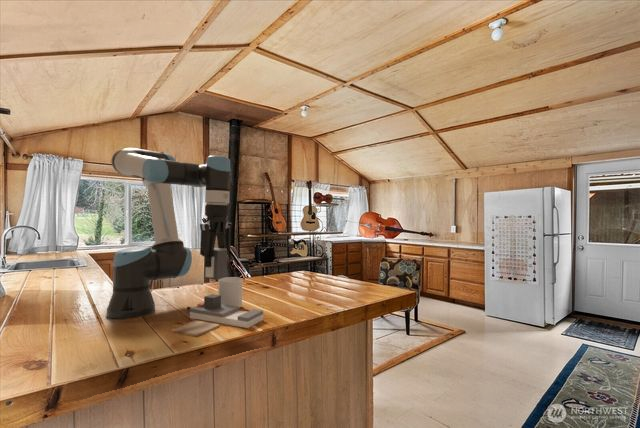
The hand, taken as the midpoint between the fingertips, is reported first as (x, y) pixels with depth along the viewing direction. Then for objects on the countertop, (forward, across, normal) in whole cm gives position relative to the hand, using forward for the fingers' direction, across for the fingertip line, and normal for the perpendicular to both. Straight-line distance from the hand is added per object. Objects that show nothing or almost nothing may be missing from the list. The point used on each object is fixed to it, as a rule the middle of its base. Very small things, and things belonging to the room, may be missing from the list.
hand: (215, 275), depth 106 cm
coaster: (+16, -6, +2) cm, 17 cm away
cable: (+17, +9, +16) cm, 25 cm away
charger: (+1, 0, 0) cm, 1 cm away
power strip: (+16, +6, 0) cm, 17 cm away
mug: (+17, +19, +7) cm, 26 cm away
